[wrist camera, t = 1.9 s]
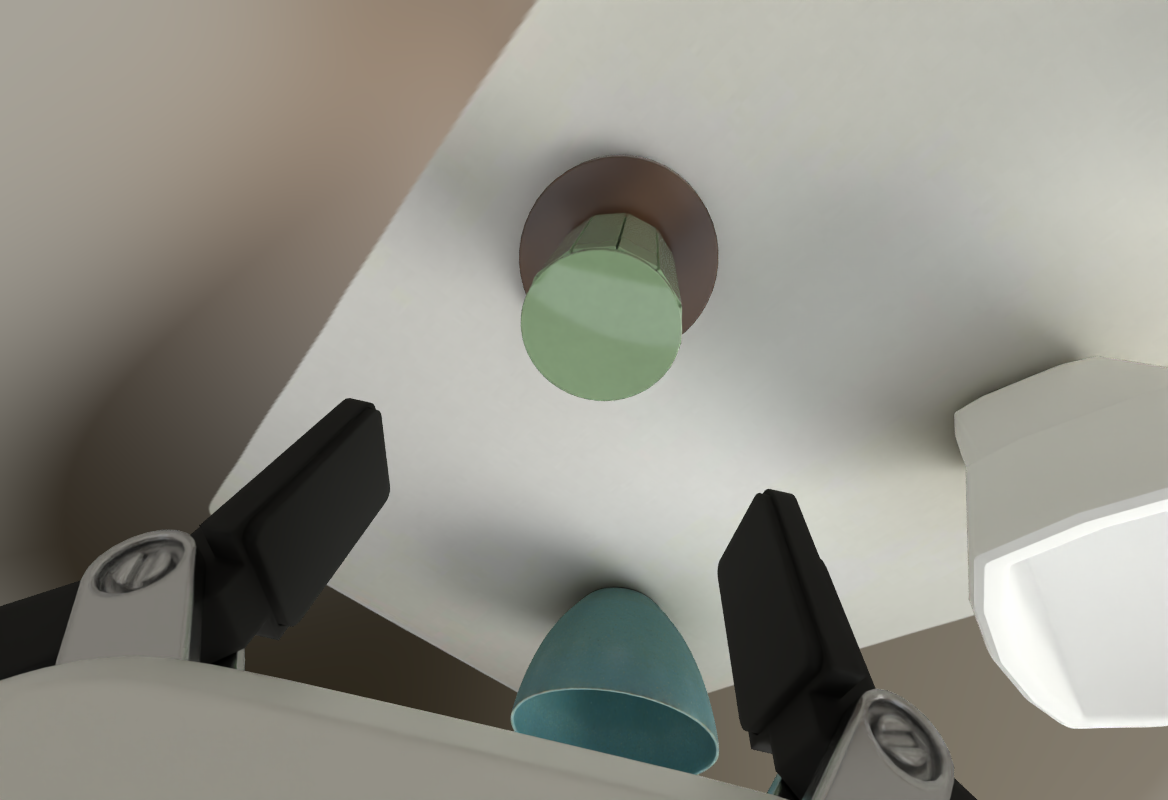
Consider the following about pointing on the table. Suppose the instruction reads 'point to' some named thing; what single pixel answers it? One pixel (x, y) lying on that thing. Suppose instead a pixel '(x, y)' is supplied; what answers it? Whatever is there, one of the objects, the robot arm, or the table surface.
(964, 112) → the table surface
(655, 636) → the plant pot
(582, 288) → the green cup
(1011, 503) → the bowl
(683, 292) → the disc
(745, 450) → the table surface
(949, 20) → the table surface
